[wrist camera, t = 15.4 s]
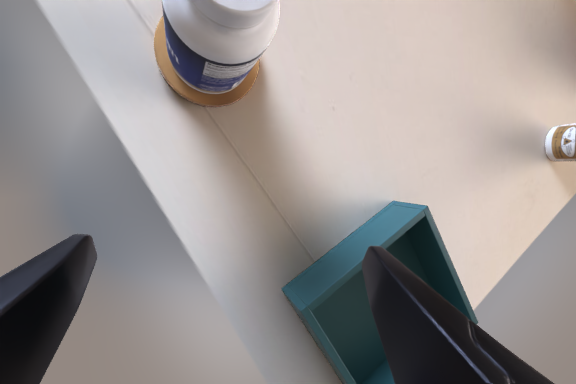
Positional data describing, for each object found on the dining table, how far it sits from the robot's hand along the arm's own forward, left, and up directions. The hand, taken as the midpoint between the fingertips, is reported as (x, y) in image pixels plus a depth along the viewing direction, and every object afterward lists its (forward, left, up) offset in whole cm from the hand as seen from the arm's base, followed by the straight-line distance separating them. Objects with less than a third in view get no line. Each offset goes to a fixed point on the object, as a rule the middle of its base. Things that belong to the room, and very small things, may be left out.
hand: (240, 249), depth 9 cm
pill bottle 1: (+6, +9, -12) cm, 16 cm away
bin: (+8, -16, -12) cm, 21 cm away
